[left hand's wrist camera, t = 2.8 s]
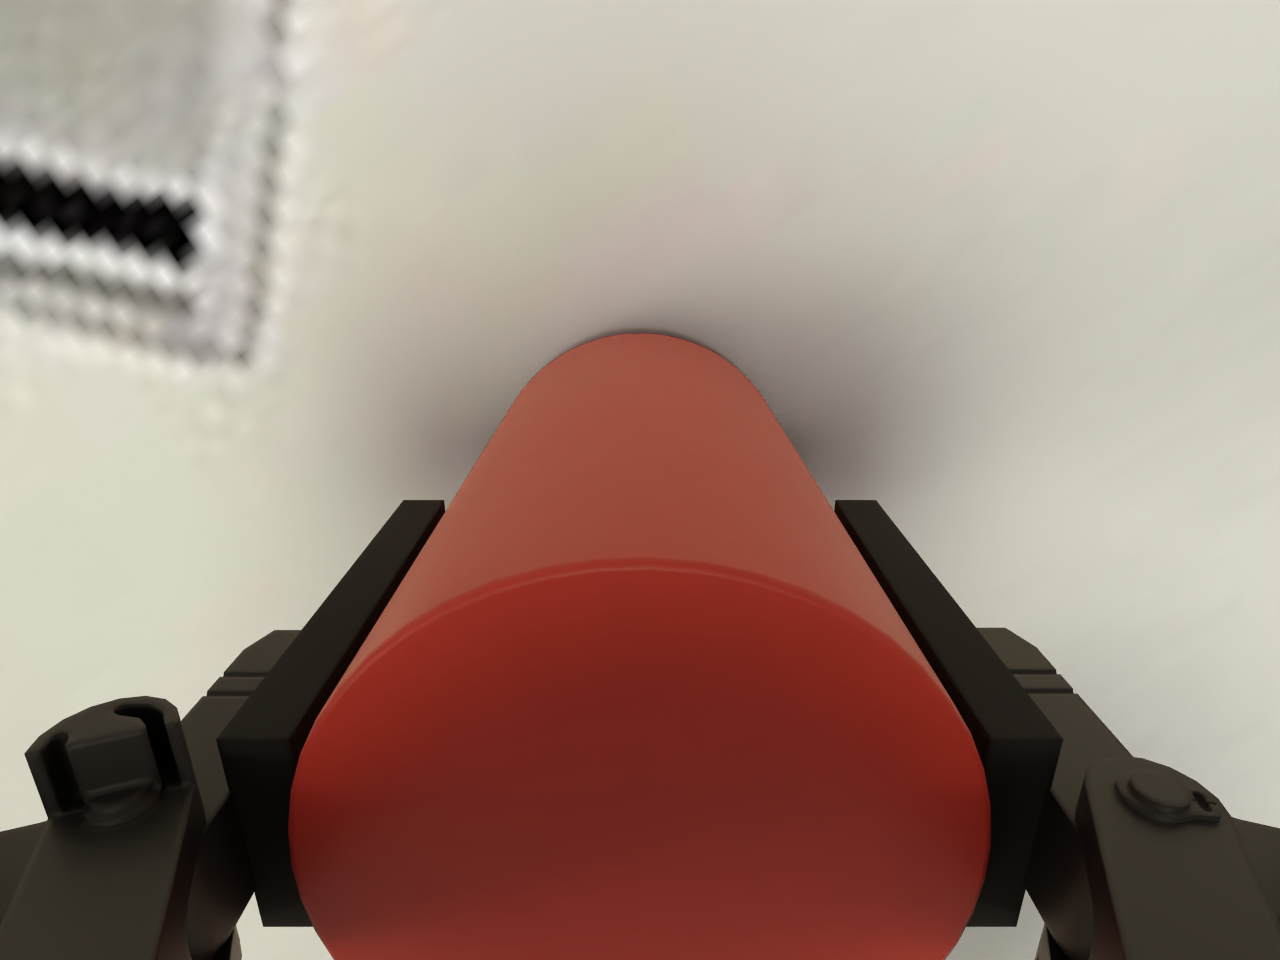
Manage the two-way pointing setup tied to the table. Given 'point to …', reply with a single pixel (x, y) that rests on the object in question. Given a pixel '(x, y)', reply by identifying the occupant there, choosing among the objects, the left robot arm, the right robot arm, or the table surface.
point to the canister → (639, 706)
